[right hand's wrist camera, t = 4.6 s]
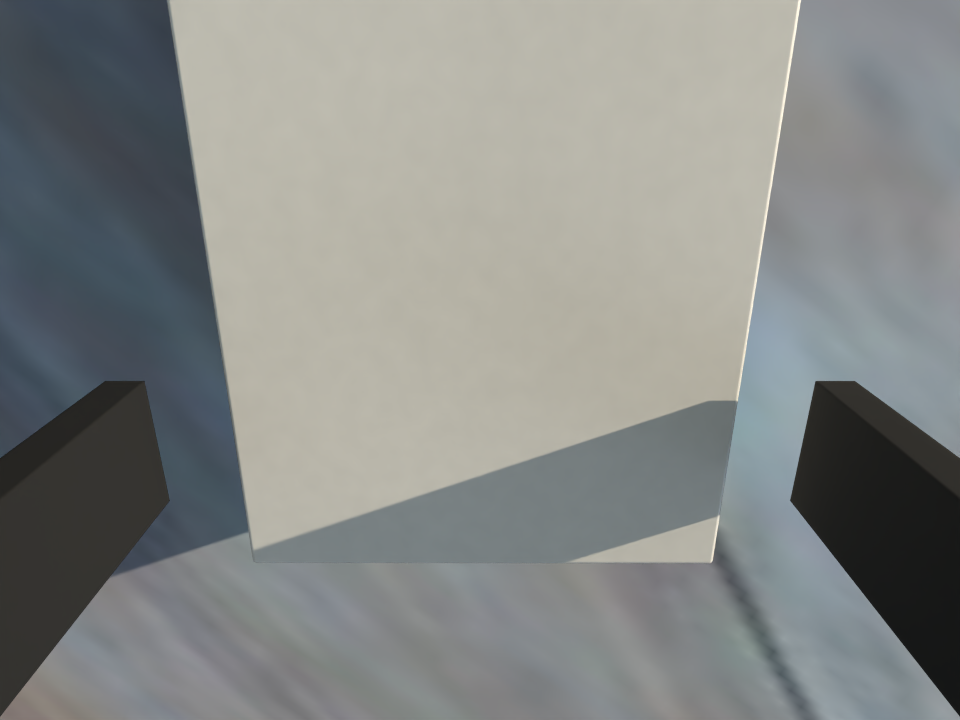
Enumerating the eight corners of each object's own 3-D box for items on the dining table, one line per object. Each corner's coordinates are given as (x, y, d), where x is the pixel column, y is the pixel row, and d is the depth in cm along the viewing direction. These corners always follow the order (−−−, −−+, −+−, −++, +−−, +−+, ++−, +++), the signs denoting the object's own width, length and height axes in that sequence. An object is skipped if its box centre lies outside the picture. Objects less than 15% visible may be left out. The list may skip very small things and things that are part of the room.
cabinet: (258, -408, 15) (11, -989, 7) (708, -409, 15) (960, -992, 7) (332, 407, 22) (252, 564, 14) (632, 407, 22) (713, 565, 14)
